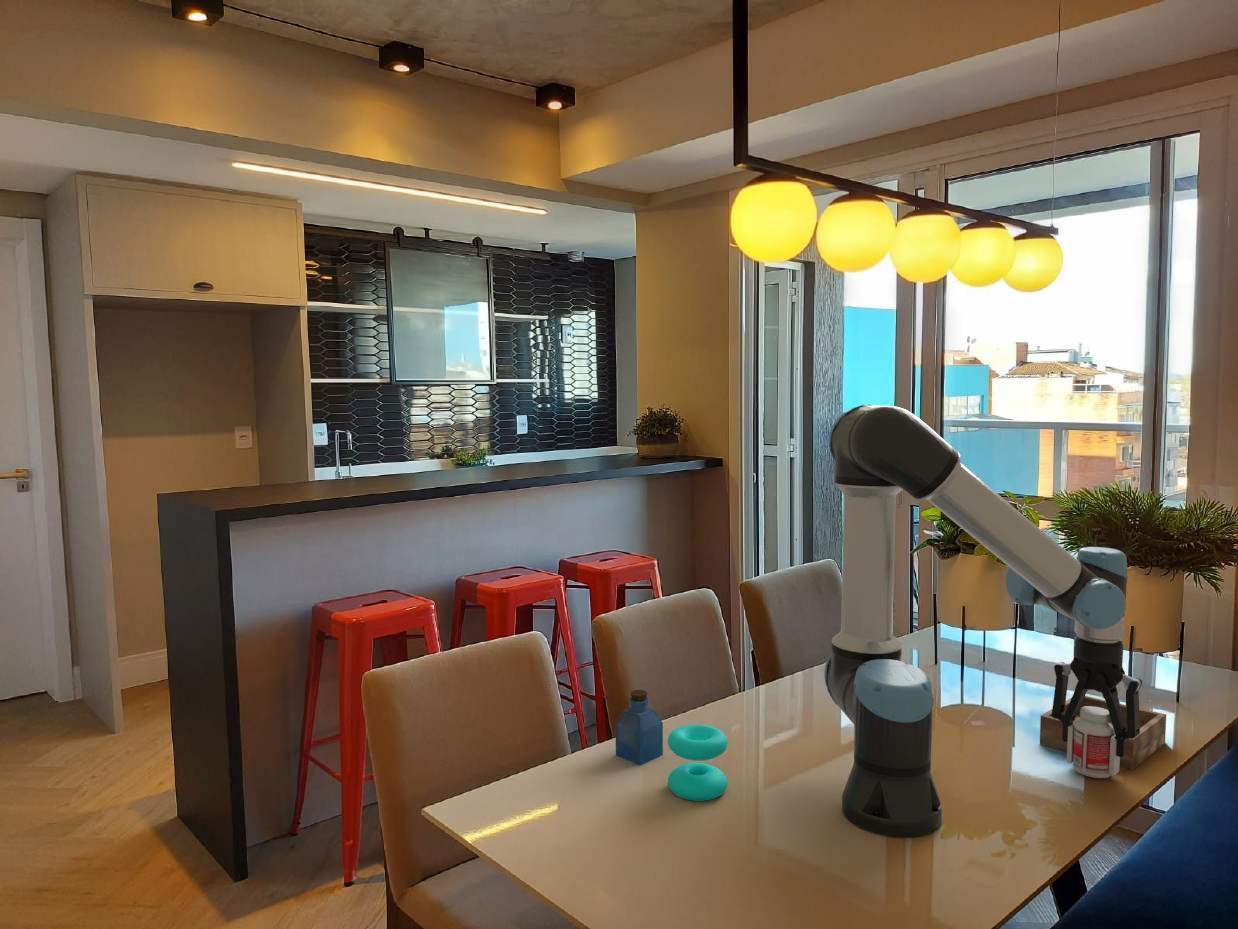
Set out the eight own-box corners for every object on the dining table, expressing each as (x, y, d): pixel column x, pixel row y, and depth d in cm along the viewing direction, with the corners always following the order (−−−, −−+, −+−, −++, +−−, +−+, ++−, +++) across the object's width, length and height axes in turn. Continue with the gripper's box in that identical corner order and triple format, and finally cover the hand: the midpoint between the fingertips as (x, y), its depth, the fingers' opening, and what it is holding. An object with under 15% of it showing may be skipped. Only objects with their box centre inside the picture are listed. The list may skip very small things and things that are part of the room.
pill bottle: (1119, 774, 154) (1122, 712, 153) (1100, 782, 151) (1103, 719, 150) (1084, 761, 159) (1087, 702, 158) (1065, 769, 156) (1068, 708, 155)
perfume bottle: (662, 755, 164) (662, 692, 163) (640, 765, 160) (640, 700, 159) (637, 746, 168) (637, 684, 168) (615, 756, 164) (615, 693, 163)
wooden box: (1132, 769, 157) (1133, 739, 156) (1039, 743, 168) (1040, 715, 168) (1165, 742, 169) (1166, 714, 168) (1076, 720, 180) (1077, 694, 180)
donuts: (675, 719, 155) (732, 725, 152) (675, 774, 156) (731, 781, 153) (661, 740, 145) (721, 747, 143) (661, 799, 146) (721, 807, 143)
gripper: (1168, 645, 148) (1161, 778, 150) (1050, 623, 163) (1045, 745, 164) (1153, 653, 143) (1146, 791, 145) (1033, 630, 158) (1027, 756, 159)
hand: (1092, 766), depth 155 cm, fingers closed on pill bottle, 6 cm apart
